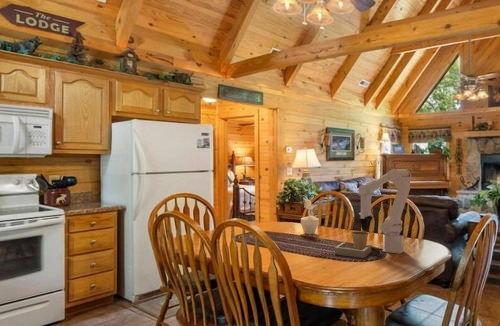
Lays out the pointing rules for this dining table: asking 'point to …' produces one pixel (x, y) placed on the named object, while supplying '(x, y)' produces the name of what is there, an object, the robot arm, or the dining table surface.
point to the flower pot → (359, 239)
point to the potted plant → (309, 219)
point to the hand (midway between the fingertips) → (365, 229)
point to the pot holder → (352, 251)
